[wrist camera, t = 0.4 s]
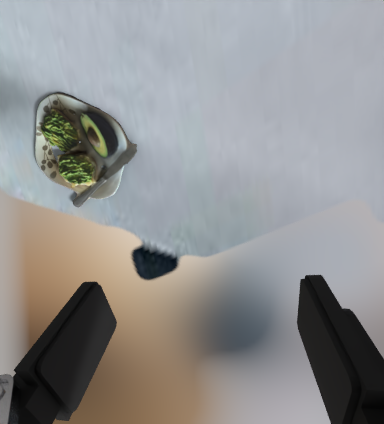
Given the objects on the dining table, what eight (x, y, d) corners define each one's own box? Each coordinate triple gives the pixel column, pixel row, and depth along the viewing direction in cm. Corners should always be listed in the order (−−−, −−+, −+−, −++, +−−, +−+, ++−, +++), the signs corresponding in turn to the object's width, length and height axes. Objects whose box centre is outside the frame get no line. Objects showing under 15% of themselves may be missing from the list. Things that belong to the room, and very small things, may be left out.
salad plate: (117, 219, 45) (107, 230, 41) (36, 182, 43) (16, 190, 39) (146, 130, 36) (136, 133, 32) (46, 81, 35) (22, 77, 31)
